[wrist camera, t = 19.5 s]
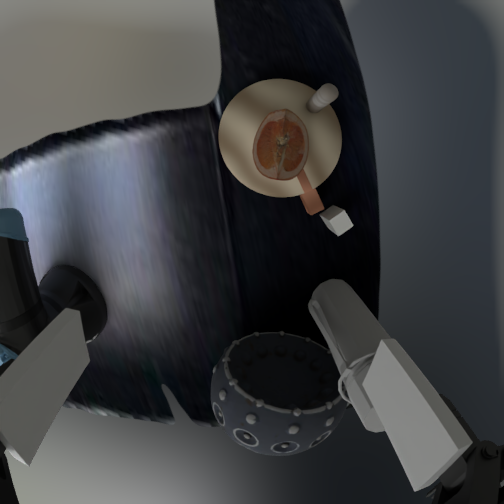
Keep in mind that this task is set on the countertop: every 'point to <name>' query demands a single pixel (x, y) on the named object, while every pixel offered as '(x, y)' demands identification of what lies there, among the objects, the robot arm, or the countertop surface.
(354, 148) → the countertop surface
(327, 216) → the grey rectangular block
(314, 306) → the water bottle
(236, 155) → the beige round piece
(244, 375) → the grey dotted bowl
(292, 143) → the fruit slice
